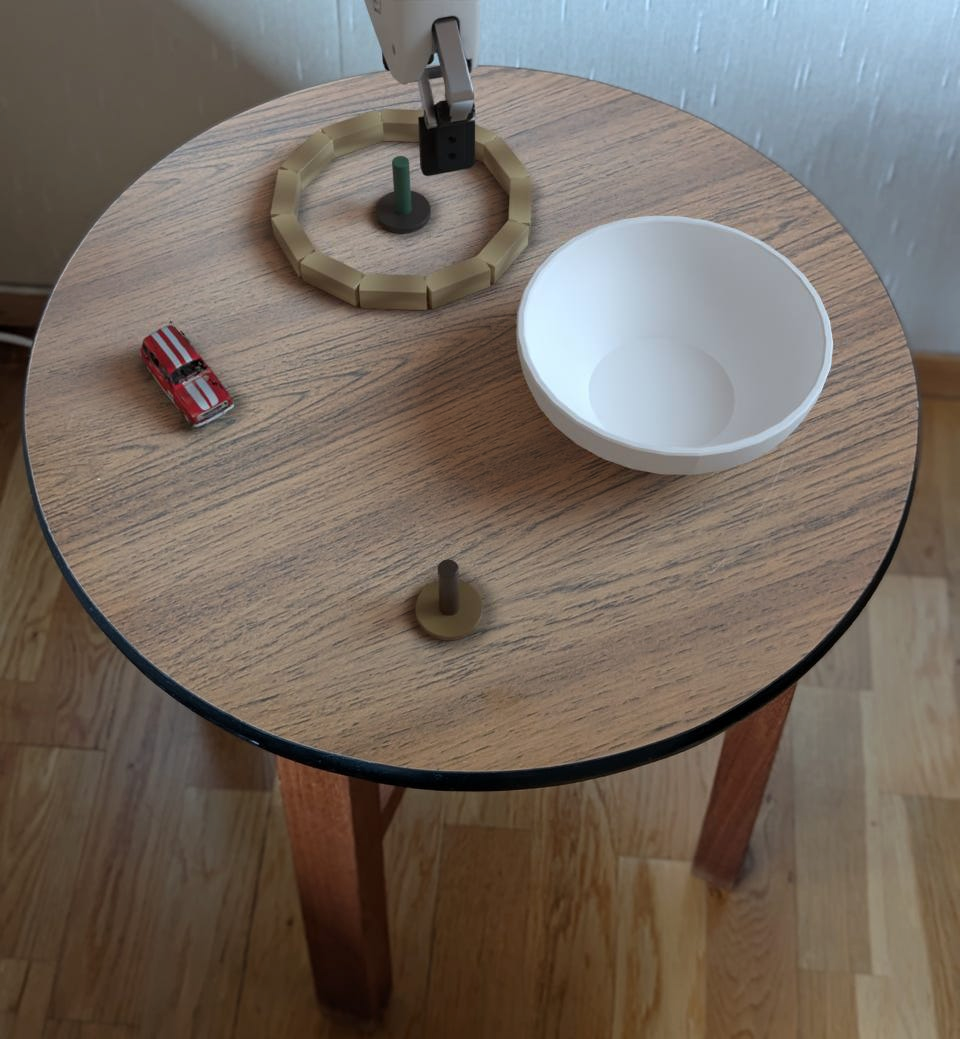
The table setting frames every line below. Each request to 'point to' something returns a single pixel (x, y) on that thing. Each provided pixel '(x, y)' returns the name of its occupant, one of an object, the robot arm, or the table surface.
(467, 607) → the walnut peg
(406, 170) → the green peg
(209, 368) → the toy car
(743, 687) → the table surface
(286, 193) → the ring
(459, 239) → the table surface
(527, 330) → the bowl
